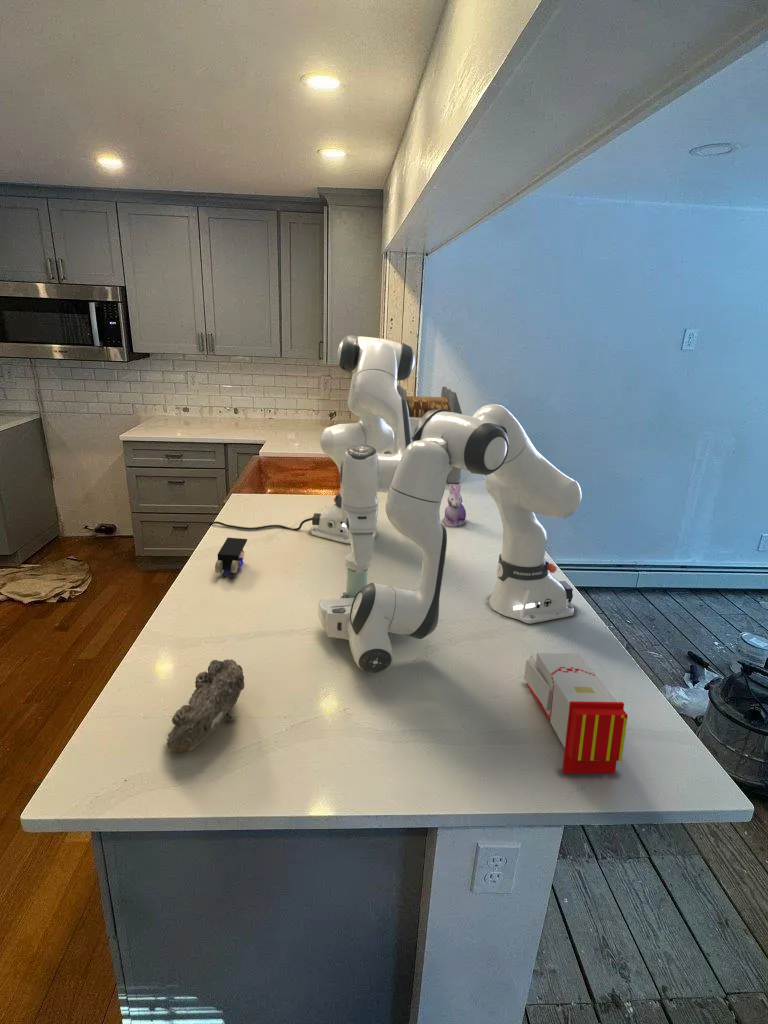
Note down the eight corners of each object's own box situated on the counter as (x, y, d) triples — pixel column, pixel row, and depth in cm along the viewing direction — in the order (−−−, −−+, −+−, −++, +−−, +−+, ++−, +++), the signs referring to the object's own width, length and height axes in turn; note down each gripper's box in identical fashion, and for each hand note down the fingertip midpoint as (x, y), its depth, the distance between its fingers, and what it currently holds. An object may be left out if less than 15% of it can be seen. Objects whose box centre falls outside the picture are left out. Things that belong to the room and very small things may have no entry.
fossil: (192, 660, 117) (244, 628, 112) (224, 691, 120) (276, 661, 115) (142, 746, 98) (202, 712, 93) (182, 779, 101) (242, 748, 96)
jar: (354, 608, 149) (357, 554, 144) (369, 615, 146) (372, 561, 141) (341, 615, 146) (343, 560, 140) (355, 622, 143) (358, 567, 137)
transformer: (382, 463, 289) (386, 382, 275) (445, 464, 293) (451, 384, 279) (390, 482, 257) (394, 392, 243) (460, 483, 261) (468, 394, 247)
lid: (364, 558, 145) (365, 551, 144) (373, 568, 140) (374, 561, 139) (342, 561, 142) (342, 554, 142) (350, 571, 137) (350, 564, 137)
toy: (573, 635, 123) (638, 710, 94) (567, 691, 126) (628, 782, 97) (518, 633, 123) (565, 709, 93) (513, 690, 125) (557, 781, 96)
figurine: (451, 529, 206) (455, 489, 201) (436, 519, 214) (439, 481, 209) (472, 525, 210) (476, 487, 205) (457, 516, 219) (460, 479, 214)
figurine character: (238, 584, 162) (249, 557, 175) (236, 562, 158) (247, 536, 172) (215, 584, 161) (227, 556, 175) (212, 561, 158) (225, 535, 171)
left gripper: (343, 499, 146) (342, 549, 150) (350, 529, 127) (348, 584, 131) (367, 499, 146) (365, 548, 151) (378, 529, 127) (375, 584, 132)
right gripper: (408, 608, 133) (395, 581, 146) (320, 613, 129) (316, 585, 142) (406, 631, 135) (394, 603, 148) (320, 636, 131) (316, 607, 144)
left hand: (357, 565), depth 141 cm, fingers closed on lid, 6 cm apart
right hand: (355, 594), depth 145 cm, fingers closed on jar, 5 cm apart
